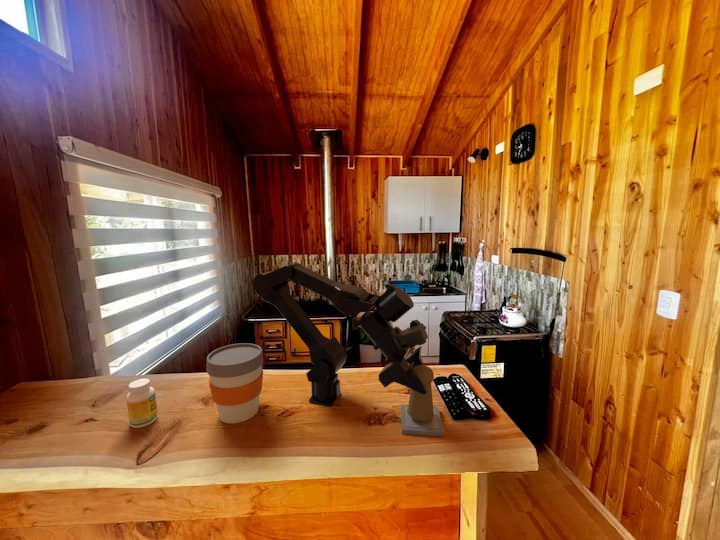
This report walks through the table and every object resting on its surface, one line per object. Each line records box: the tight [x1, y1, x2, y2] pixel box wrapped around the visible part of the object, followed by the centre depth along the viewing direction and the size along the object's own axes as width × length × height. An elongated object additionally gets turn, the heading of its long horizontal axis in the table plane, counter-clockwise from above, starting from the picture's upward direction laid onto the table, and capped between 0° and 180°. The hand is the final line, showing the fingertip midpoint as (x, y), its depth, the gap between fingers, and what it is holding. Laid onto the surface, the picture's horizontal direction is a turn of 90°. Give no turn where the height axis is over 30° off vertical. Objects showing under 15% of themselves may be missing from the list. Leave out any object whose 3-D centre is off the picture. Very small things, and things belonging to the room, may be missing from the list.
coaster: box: [400, 404, 446, 437], centre depth 69 cm, size 9×9×1 cm
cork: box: [407, 364, 435, 421], centre depth 68 cm, size 6×6×11 cm
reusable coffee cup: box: [205, 342, 264, 424], centre depth 72 cm, size 12×13×15 cm
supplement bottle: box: [125, 378, 159, 429], centre depth 69 cm, size 5×5×10 cm
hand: (427, 387), depth 67 cm, fingers closed on cork, 5 cm apart
